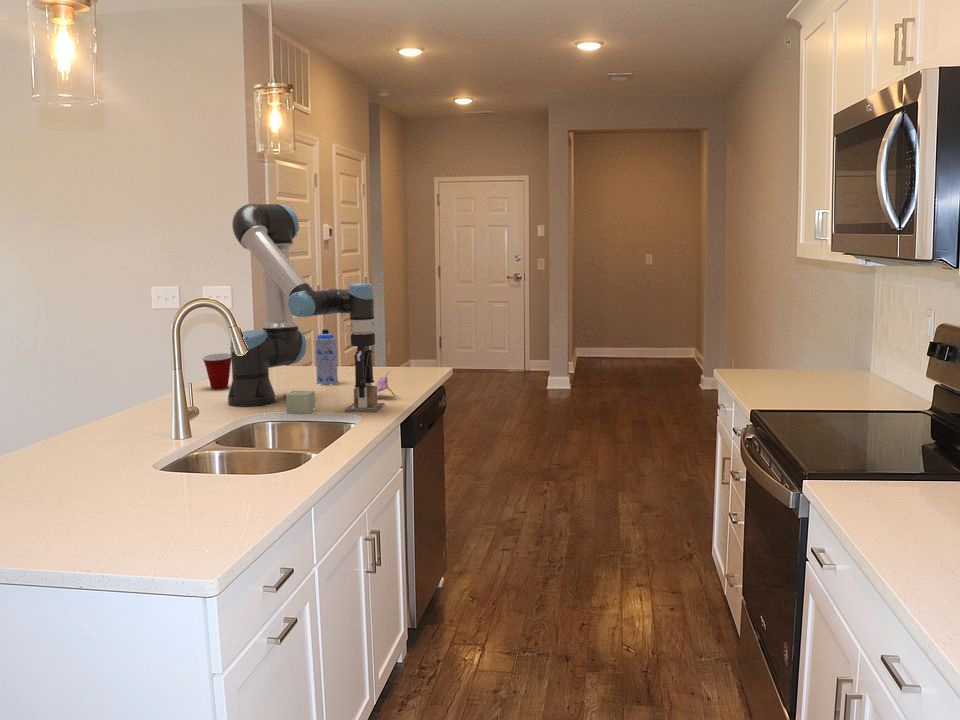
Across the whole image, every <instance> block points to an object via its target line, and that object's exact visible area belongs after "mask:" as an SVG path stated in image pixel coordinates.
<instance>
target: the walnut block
mask: <svg viewBox="0 0 960 720" xmlns="http://www.w3.org/2000/svg"><path fill="white" fill-rule="evenodd" d="M365 387H367V408H374V407H375V406H376V405H377V403H378V392H377V386H376V385H372V386H365ZM353 403H354V408H358V387H354V388H353Z"/></svg>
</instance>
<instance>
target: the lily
mask: <svg viewBox="0 0 960 720" xmlns="http://www.w3.org/2000/svg"><path fill="white" fill-rule="evenodd" d="M392 371H393V369H388V370H387V371H386V373H385V374H384V376H381V377H379V378H377V380H376V382H375V386H377V393H379V392H381V391H384V390H386V389H388V390H389V391H390V392H391V394H392V396H393V397H394V396H395V397H396V395H395V394H394V392H393V391H392V389H390V387H389V384H388V377H389V374H391V372H392Z"/></svg>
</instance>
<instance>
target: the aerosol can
mask: <svg viewBox="0 0 960 720" xmlns="http://www.w3.org/2000/svg"><path fill="white" fill-rule="evenodd" d="M337 353H338V352H337V339H336V337H335V336H334V334H332V333H331V332H329V329H327V328H326V329H322V332H321V333H320V334H318V335H317V337H315V362H316V363H315V366H316V385H317V384H321V385H320V386H331V385H330V384H335V385H337V384H336V383H338V384H339V381H338V357H337Z"/></svg>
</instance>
